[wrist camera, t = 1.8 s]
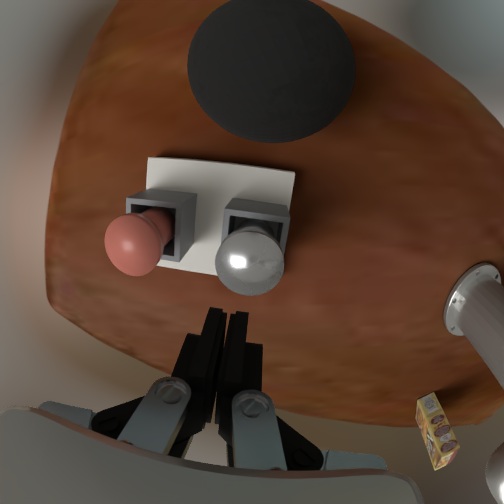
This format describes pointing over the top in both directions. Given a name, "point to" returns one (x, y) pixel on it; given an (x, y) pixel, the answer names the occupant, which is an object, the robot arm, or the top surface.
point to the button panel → (212, 205)
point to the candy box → (436, 431)
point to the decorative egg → (271, 68)
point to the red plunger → (139, 239)
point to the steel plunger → (250, 259)
